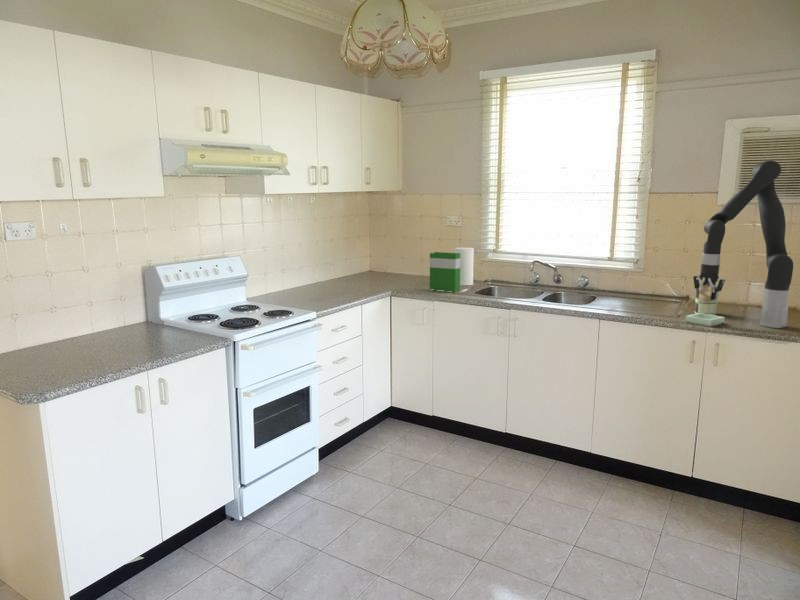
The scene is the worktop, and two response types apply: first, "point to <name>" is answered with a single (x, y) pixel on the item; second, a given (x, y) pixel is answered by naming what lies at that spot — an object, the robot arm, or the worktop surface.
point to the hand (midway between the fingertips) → (706, 298)
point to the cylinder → (466, 265)
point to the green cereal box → (445, 271)
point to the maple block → (705, 293)
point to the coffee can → (706, 305)
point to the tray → (704, 319)
